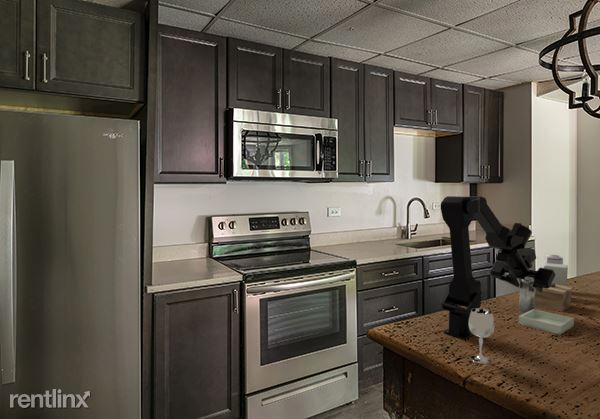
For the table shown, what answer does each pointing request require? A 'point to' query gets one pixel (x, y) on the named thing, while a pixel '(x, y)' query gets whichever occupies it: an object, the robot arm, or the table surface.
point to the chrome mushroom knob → (527, 295)
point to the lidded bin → (554, 297)
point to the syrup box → (553, 259)
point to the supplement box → (558, 273)
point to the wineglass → (481, 329)
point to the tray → (546, 321)
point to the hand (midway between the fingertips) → (529, 288)
